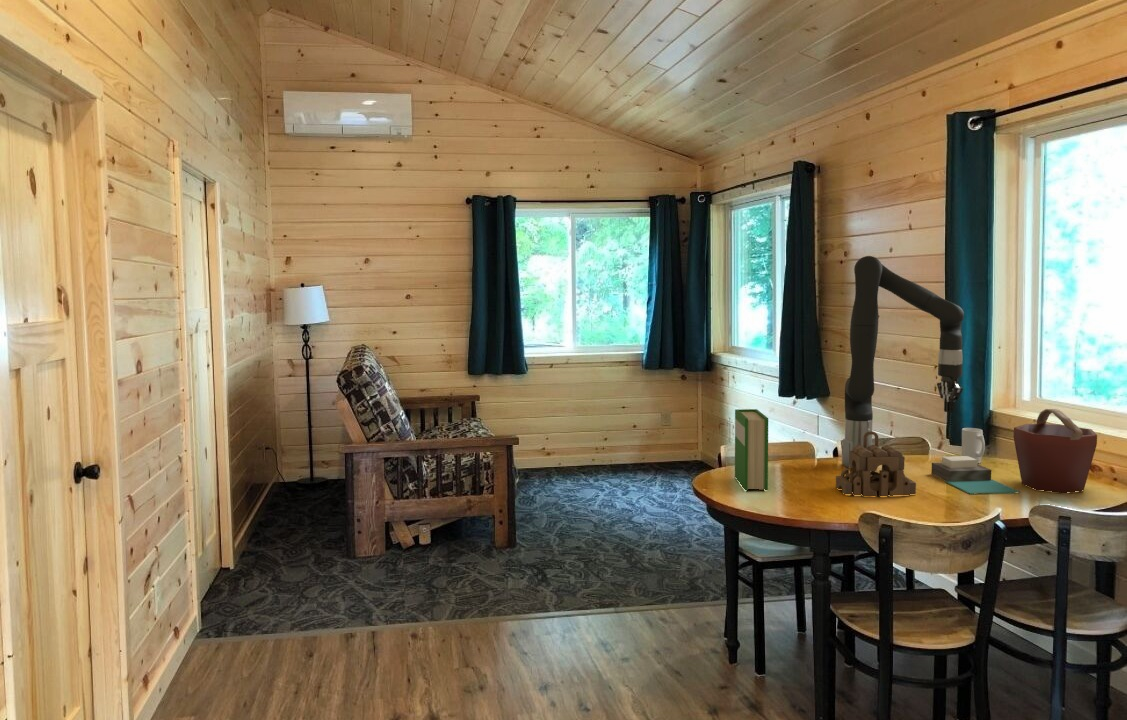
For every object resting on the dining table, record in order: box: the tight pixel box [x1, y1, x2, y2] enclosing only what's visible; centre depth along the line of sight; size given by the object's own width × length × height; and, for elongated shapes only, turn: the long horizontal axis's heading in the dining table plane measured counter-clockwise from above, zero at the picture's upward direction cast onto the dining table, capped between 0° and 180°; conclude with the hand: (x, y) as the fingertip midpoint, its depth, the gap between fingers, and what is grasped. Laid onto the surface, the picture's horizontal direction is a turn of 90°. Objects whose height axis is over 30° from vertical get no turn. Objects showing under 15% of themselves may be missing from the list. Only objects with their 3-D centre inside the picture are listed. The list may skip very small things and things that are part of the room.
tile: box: [941, 455, 978, 468], centre depth 271 cm, size 9×6×2 cm, turn 92°
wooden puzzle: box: [835, 430, 917, 497], centre depth 255 cm, size 22×15×19 cm, turn 89°
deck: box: [930, 461, 992, 482], centre depth 270 cm, size 14×12×4 cm
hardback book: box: [734, 408, 769, 491], centre depth 265 cm, size 18×7×24 cm, turn 178°
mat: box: [944, 478, 1021, 495], centre depth 258 cm, size 16×15×1 cm
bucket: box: [1013, 408, 1098, 494], centre depth 256 cm, size 24×22×25 cm
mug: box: [961, 427, 986, 464], centre depth 291 cm, size 10×7×12 cm, turn 9°
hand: (948, 412), depth 277 cm, fingers closed
